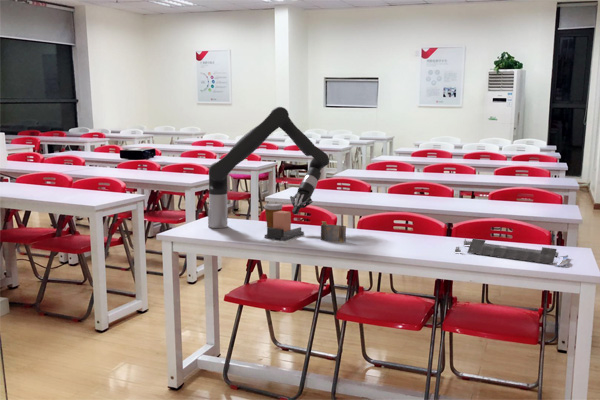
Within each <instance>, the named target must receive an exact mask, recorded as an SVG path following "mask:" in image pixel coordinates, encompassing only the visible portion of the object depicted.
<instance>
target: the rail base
mask: <svg viewBox="0 0 600 400" xmlns="http://www.w3.org/2000/svg"><path fill="white" fill-rule="evenodd" d="M303 235H305V231H303V230H302V226H299V227H296V228H291V230H288V231H285V232H284V229H279V228H271V227H269V228H268V227H266V234H264V239H269V240H276V241H283V242H284V241H288V240H291V239H294V238H297V237H301V236H303Z"/></svg>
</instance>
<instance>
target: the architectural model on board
mask: <svg viewBox="0 0 600 400" xmlns="http://www.w3.org/2000/svg"><path fill="white" fill-rule="evenodd" d="M320 221H321V220H320ZM321 223H322V224H321V225H320V241H323V240H325V241H326V242H335V243H345V242H346V240H347V239H346V235H347V233H346V232H347V226H346V225H340V224H338V225H337V224H328V223H327V220H325V221H321Z"/></svg>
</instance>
